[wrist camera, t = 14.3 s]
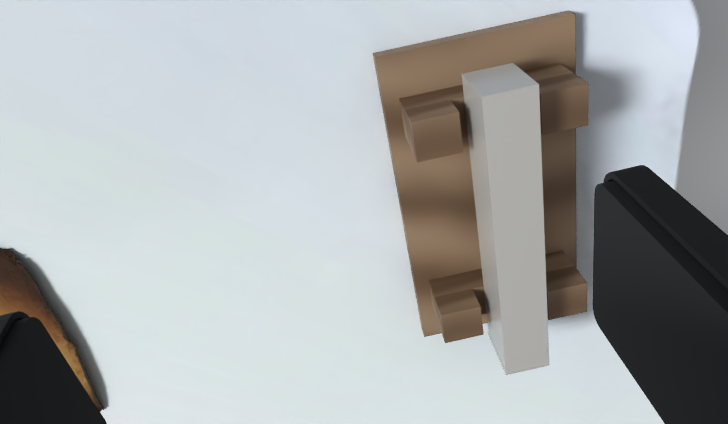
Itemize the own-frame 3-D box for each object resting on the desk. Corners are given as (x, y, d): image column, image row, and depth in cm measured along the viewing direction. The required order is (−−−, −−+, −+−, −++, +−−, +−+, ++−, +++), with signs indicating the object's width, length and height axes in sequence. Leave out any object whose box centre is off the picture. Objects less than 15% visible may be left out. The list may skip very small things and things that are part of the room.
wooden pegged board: (372, 53, 36) (385, 78, 32) (568, 10, 36) (607, 29, 32) (421, 328, 47) (435, 374, 43) (571, 295, 47) (600, 337, 43)
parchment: (-127, 244, 38) (-135, 252, 38) (29, 226, 39) (23, 233, 38) (19, 484, 51) (15, 494, 50) (135, 469, 52) (133, 478, 51)
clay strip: (461, 73, 34) (481, 96, 31) (513, 62, 34) (539, 84, 31) (488, 335, 44) (506, 374, 41) (528, 326, 44) (549, 365, 41)
